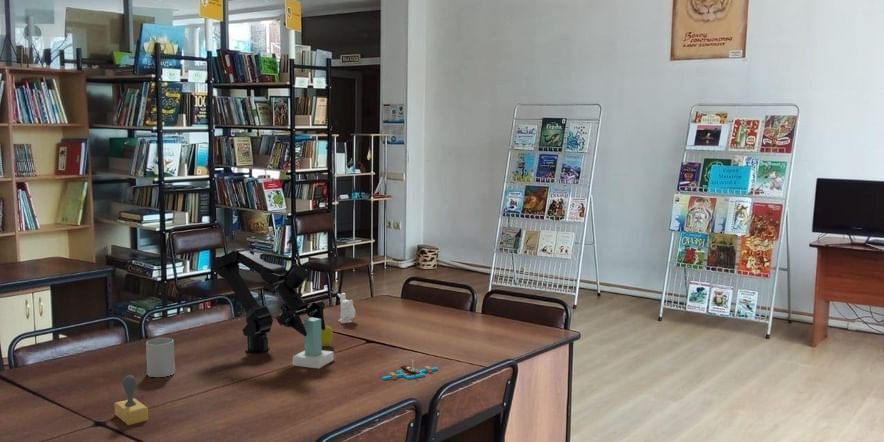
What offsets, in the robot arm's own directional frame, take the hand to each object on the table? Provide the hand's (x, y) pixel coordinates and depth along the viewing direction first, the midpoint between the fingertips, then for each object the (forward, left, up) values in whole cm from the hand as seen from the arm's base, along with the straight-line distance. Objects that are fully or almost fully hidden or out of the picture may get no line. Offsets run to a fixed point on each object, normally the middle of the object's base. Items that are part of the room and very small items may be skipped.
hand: (315, 332), depth 260 cm
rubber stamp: (-22, -62, -11) cm, 67 cm away
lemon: (-7, +19, -11) cm, 23 cm away
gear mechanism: (+34, +1, -11) cm, 36 cm away
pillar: (-1, 0, -8) cm, 8 cm away
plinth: (-1, 0, -11) cm, 11 cm away
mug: (-42, -28, -11) cm, 52 cm away
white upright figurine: (-17, +53, -11) cm, 57 cm away
